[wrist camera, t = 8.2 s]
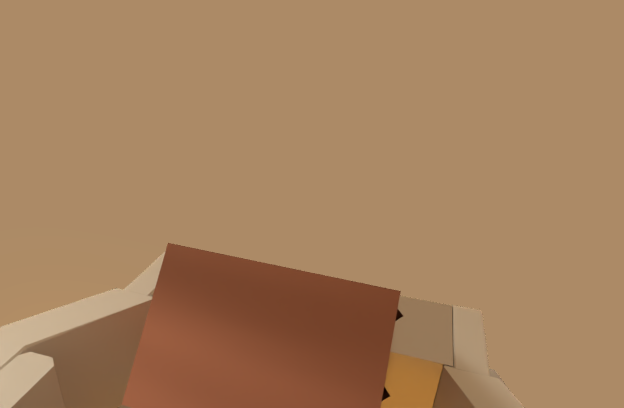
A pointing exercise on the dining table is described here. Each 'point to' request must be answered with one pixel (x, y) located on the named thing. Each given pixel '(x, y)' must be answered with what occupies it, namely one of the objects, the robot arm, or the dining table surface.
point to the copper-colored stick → (260, 337)
